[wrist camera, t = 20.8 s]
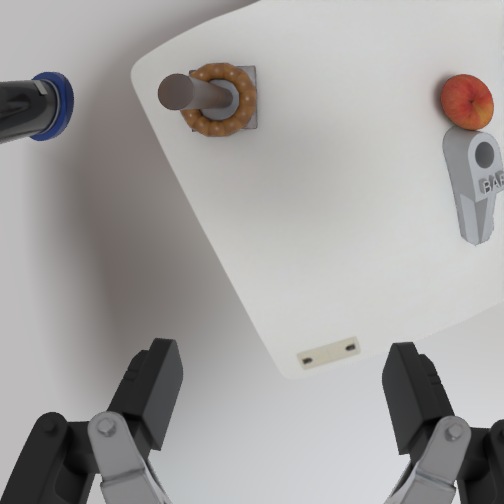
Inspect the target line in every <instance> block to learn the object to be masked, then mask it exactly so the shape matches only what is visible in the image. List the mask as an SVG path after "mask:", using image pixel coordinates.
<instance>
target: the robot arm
mask: <svg viewBox="0 0 504 504" xmlns="http://www.w3.org/2000/svg"><path fill="white" fill-rule="evenodd" d="M61 104H62V101H61V94H60V91H59V88H58V86H57V85H56V84H55V83H54V82H53V81H51V80H48V79H40V80H25V81H8V82H0V144H2V143H6V142H10V141H13V140H17V139H21V138H24V137H28V136H32V135H38V134H43V133H46V132H48V131H49V130H50V129H51V128H52V127H53V126H54V125H55V124H56V122H57V120H58V118H59V115H60V111H61ZM182 380H183V367H182V362H181V359H180V355H179V350H178V346H177V343H176V341H175V340H173V339H162V338H155V339H154V341H153V343H152V345H151V347H150V349H149V351H148V350H141V352H139V353H138V354H137V355H136V356H135V357H134V358H133V359H132V361H131V363H130V365H129V367H128V370H127V371H126V373H125V375H124V377H123V379H122V381H121V383H120V385H119V387H118V389H117V391H116V393H115V395H114V397H113V399H112V401H111V404H110V406H109V407H108V409H107V411H105V412H101V413H99V414H97V415H95V416H94V417H93V418H92V419H91V420H90V421H86V422H67V421H66V419H65V418H64V417H63V416H62V415H61V414H59V413H56V412H49V413H46V414H43V415H42V416H41V417H39V418H38V420H37V421H36V423H35V425H34V427H33V429H32V431H31V433H30V435H29V437H28V439H27V441H26V443H25V445H24V447H23V449H22V451H21V453H20V456H19V458H18V460H17V462H16V465H15V467H14V469H13V471H12V474H11V476H10V478H9V481H8V483H7V485H6V488H5V490H4V493H3V495H2V498H1V500H0V504H86V502H87V499H88V496H89V493H90V489H91V486H92V483H93V480H94V477H95V474H96V473H97V474H101V476H102V480H103V481H102V482H101V483H100V487H101V491H102V494H103V496H104V499H105V502H106V504H172V502H171V501H170V499H169V497H168V496H167V494H166V492H165V490H164V488H163V486H162V485H161V483H160V481H159V479H158V477H157V475H156V473H155V471H154V469H153V467H152V465H151V463H150V461H149V459H148V456H149V453H150V450H151V449H153V450H158V451H160V450H161V447H162V444H163V441H164V437H165V434H166V431H167V428H168V425H169V421H170V418H171V415H172V412H173V409H174V406H175V403H176V399H177V396H178V393H179V390H180V387H181V384H182ZM382 385H383V389H384V393H385V396H386V401H387V404H388V408H389V412H390V416H391V421H392V425H393V428H394V433H395V437H396V442H397V446H398V451H399V455H403V454H410V459H411V460H410V461H409V463H408V464H407V466H406V468H405V470H404V472H403V473H402V475H401V477H400V479H399V480H398V482H397V484H396V485H395V487H394V489H393V490H392V492H391V494H390V495H389V497H388V498H387V500H386V501H385V503H384V504H451V503H452V500H453V498H454V496H455V493H456V487H454V482H455V480H457V484H458V489H459V495H460V501H461V504H504V419H503V420H499V421H497V422H495V423H494V424H493V426H492V427H491V428H473V427H470V426H469V425H468V423H467V422H466V421H465V420H464V419H462V418H460V417H457V416H455V414H454V412H453V409H452V407H451V404H450V402H449V399H448V397H447V394H446V392H445V390H444V388H443V385H442V384H441V380H440V378H439V376H438V375H437V371H436V369H435V366H434V364H433V363H432V361H430V359H428V357H427V356H426V355H424V354H420V355H419V354H418V352H417V350H416V347H415V345H414V343H413V342H401V343H393V344H392V346H391V348H390V352H389V355H388V358H387V361H386V363H385V367H384V369H383V373H382Z"/></svg>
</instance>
